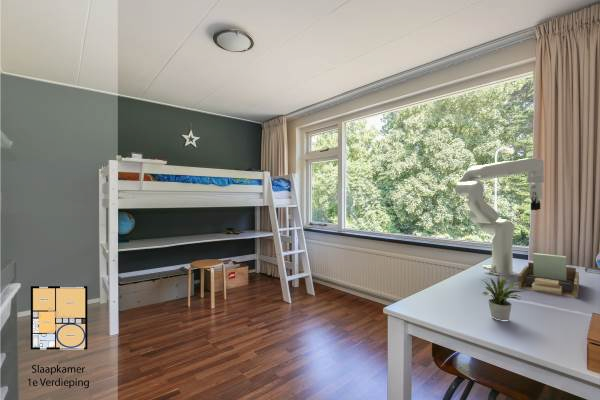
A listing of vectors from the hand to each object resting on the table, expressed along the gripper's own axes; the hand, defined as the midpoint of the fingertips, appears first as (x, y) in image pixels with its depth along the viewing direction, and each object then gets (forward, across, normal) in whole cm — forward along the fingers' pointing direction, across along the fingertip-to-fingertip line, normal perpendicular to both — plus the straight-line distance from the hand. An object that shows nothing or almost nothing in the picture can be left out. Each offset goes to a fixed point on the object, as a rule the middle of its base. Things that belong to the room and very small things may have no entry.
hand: (535, 209), depth 162 cm
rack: (+36, -33, -8) cm, 50 cm away
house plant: (+36, -89, +2) cm, 96 cm away
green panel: (+35, -26, -8) cm, 45 cm away
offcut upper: (+33, -42, -8) cm, 54 cm away
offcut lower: (+35, -42, -8) cm, 55 cm away
